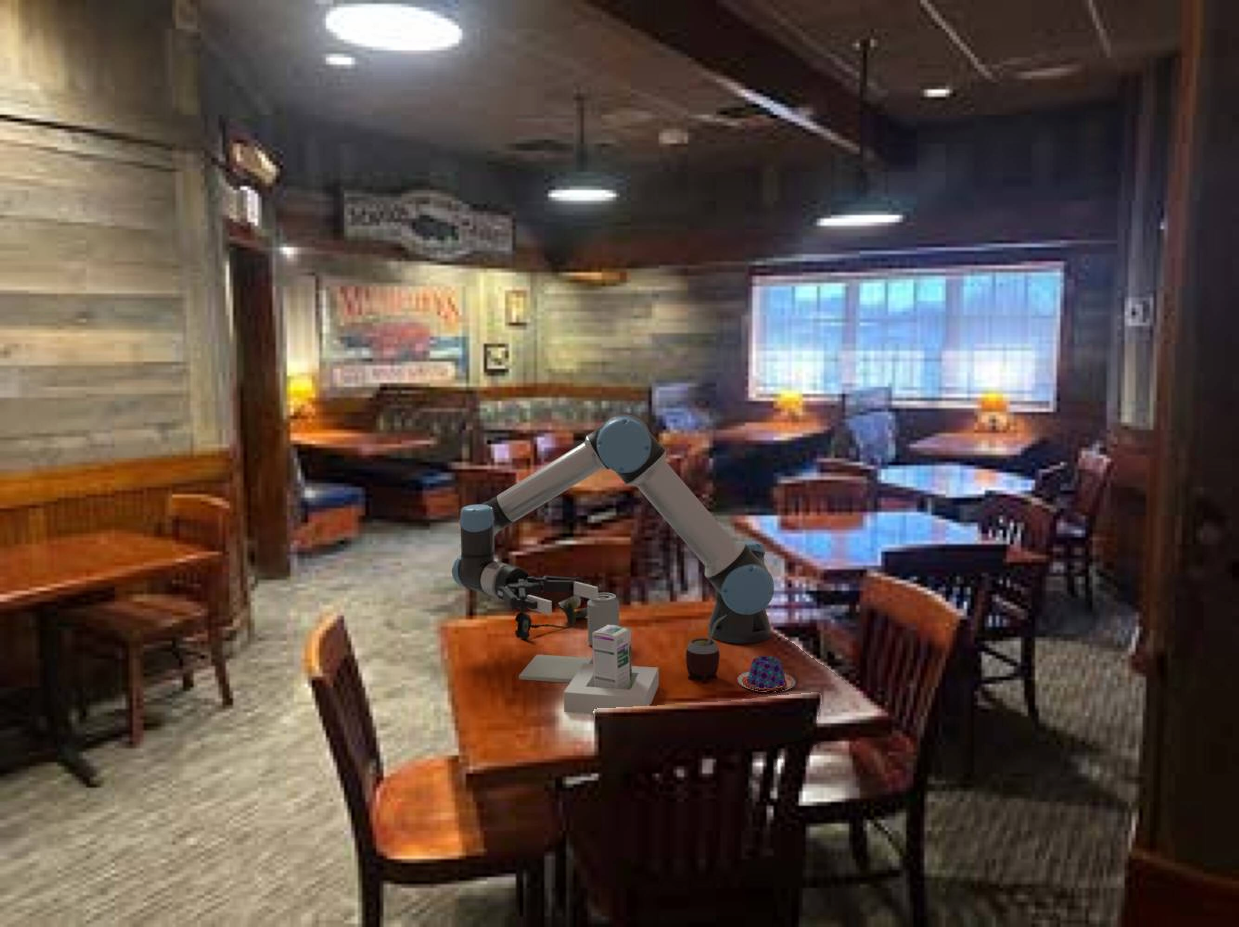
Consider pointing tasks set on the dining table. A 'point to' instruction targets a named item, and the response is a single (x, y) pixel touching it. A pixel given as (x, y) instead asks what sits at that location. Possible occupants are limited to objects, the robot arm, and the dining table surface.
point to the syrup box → (612, 657)
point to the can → (602, 613)
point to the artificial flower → (565, 605)
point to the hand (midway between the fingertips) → (574, 600)
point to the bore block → (609, 691)
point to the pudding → (766, 673)
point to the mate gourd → (703, 657)
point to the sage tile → (553, 668)
